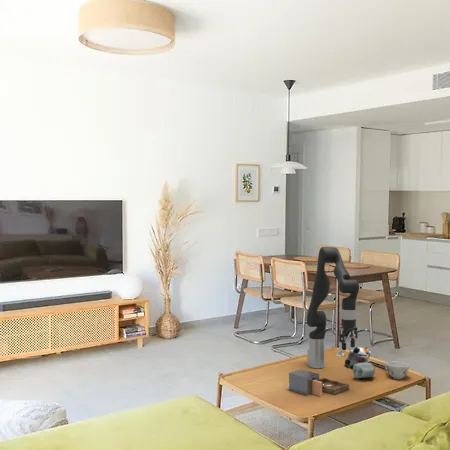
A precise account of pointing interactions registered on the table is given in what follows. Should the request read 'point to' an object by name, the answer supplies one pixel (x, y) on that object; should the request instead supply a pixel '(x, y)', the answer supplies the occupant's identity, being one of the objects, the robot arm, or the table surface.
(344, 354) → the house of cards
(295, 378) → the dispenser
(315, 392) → the orange tan rectangular slab
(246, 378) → the table surface
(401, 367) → the teacup
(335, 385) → the tray
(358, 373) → the grey rounded cylinder
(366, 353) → the lucky cat figurine
